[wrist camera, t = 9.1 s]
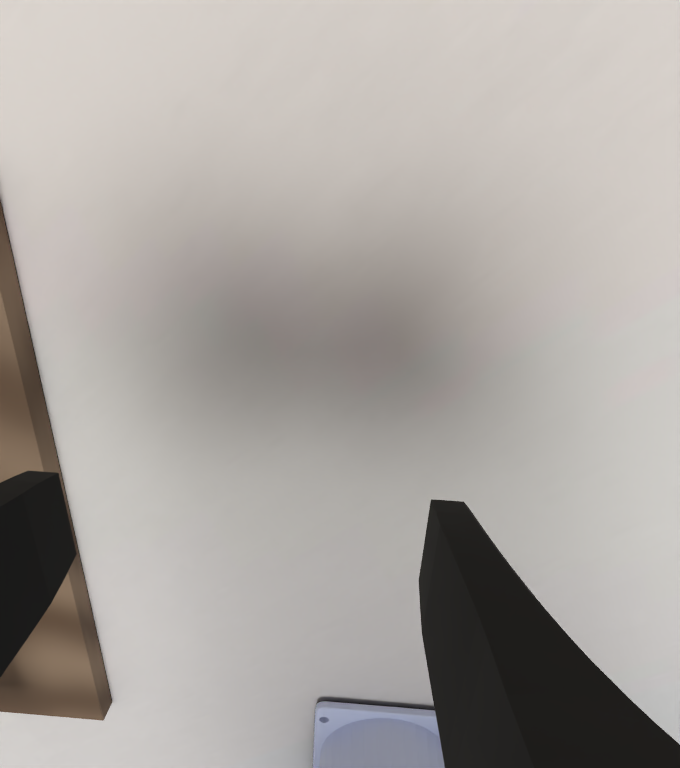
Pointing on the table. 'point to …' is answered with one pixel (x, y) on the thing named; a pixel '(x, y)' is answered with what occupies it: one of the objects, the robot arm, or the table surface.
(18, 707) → the board
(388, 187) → the table surface
